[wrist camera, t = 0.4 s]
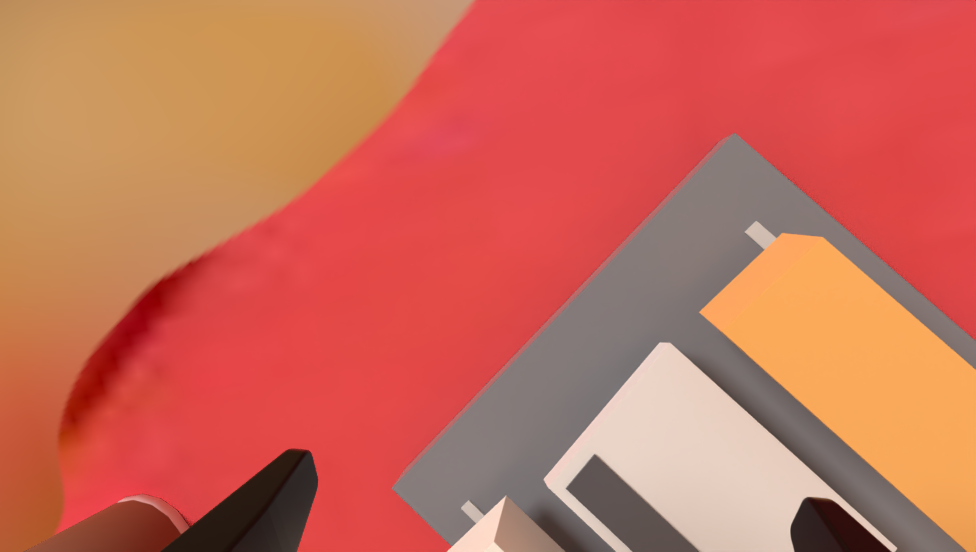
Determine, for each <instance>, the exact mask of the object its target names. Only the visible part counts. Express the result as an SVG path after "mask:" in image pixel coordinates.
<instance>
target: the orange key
mask: <svg viewBox="0 0 976 552" xmlns="http://www.w3.org/2000/svg"><path fill="white" fill-rule="evenodd" d="M699 313H700V314H701V315H702V316H704V317H705V318H706V319H707V320H708V321H709V322H710V323H711V324H712V325H714V326H715V327H716V328H717V329H718V330H719V331H720V332H721V333H722V334H724V335H725V336H726V337H727V338H728V339H729V340H730V341H731V342H733V343H734V344H735V345H736V346H737V347H738V348H739V349H740V350H741V351H743V352H744V353H745V354H746V355H747V356H748V357H749V358H750V359H751V360H753V361H754V362H755V363H756V364H757V365H758V366H759V367H760V368H762V369H763V370H764V371H765V372H766V373H767V374H768V375H769V376H770V377H772V378H773V379H774V380H775V381H776V382H777V383H778V384H779V385H781V386H782V387H783V388H784V389H785V390H786V391H787V392H788V393H789V394H791V395H792V396H793V397H794V398H795V399H796V400H797V401H798V402H799V403H801V404H802V405H803V406H804V407H805V408H806V409H807V410H808V411H810V412H811V413H812V414H813V415H814V416H815V417H816V418H817V419H818V420H820V421H821V422H822V423H823V424H824V425H825V426H826V427H827V428H829V429H830V430H831V431H832V432H833V433H834V434H835V435H836V436H837V437H839V438H840V439H841V440H842V441H843V442H844V443H845V444H846V445H847V446H849V447H850V448H851V449H852V450H853V451H854V452H855V453H856V454H858V455H859V456H860V457H861V458H862V459H863V460H864V461H865V462H866V463H868V464H869V465H870V466H871V467H872V468H873V469H874V470H875V471H877V472H878V473H879V474H880V475H881V476H882V477H883V478H884V479H885V480H887V481H888V482H889V483H890V484H891V485H892V486H893V487H894V488H895V489H897V490H898V491H899V492H900V493H901V494H902V495H903V496H904V497H906V498H907V499H908V500H909V501H910V502H911V503H912V504H913V505H914V506H916V507H917V508H918V509H919V510H920V511H921V512H922V513H923V514H925V515H926V516H927V517H928V518H929V519H930V520H931V521H932V522H934V523H935V524H936V525H937V526H938V527H939V528H940V529H942V530H943V531H944V532H945V533H946V534H947V535H948V536H950V537H951V538H952V539H953V540H954V541H955V542H956V543H958V544H959V545H960V546H961V547H962V548H963V549H964V550H966V551H967V552H976V370H975V369H974V368H973V367H972V366H971V365H970V364H968V363H967V362H966V361H965V360H964V359H963V358H962V357H960V356H959V355H958V354H957V353H956V352H955V351H954V350H952V349H951V348H950V347H949V346H948V345H947V344H945V343H944V342H943V341H942V340H941V339H940V338H939V337H937V336H936V335H935V334H934V333H933V332H932V331H930V330H929V329H928V328H927V327H926V326H925V325H924V324H922V323H921V322H920V321H919V320H918V319H917V318H916V317H914V316H913V315H912V314H911V313H910V312H909V311H907V310H906V309H905V308H904V307H903V306H902V305H901V304H899V303H898V302H897V301H896V300H895V299H894V298H892V297H891V296H890V295H889V294H888V293H887V292H886V291H884V290H883V289H882V288H881V287H880V286H879V285H878V284H876V283H875V282H874V281H873V280H872V279H871V278H869V277H868V276H867V275H866V274H865V273H864V272H863V271H861V270H860V269H859V268H858V267H857V266H856V265H854V264H853V263H852V262H851V261H850V260H849V259H848V258H846V257H845V256H844V255H843V254H842V253H841V252H840V251H838V250H837V249H836V248H835V247H834V246H833V245H831V244H830V243H829V242H828V241H827V240H826V239H825V238H823V237H817V236H807V235H797V234H786V233H782V234H781V235H780V236H779V237H778V238H776V239H775V240H774V241H773V242H772V243H771V244H770V245H769V246H768V247H767V248H766V249H765V250H764V251H763V252H762V253H761V254H760V255H759V256H758V257H756V258H755V259H754V260H753V261H752V262H751V263H750V264H749V265H748V266H747V267H746V268H745V269H744V270H743V271H742V272H741V273H740V274H739V275H738V276H736V277H735V278H734V279H733V280H732V281H731V282H730V283H729V284H728V285H727V286H726V287H725V288H724V289H723V290H722V291H721V292H720V293H719V294H718V295H716V296H715V297H714V298H713V299H712V300H711V301H710V302H709V303H708V304H707V305H706V306H705V307H704V308H703V309H702V310H701V311H700V312H699Z"/></svg>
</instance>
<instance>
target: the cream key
mask: <svg viewBox="0 0 976 552" xmlns="http://www.w3.org/2000/svg"><path fill="white" fill-rule="evenodd" d="M447 552H565V551H564V550H563V549H562V548H561V547H560V546H559V545H558V544H557V543H556V542H555V541H554V540H553V539H552V538H551V537H549V536H548V535H547V534H546V533H545V532H544V531H543V530H542V529H541V528H540V527H539V526H538V525H537V524H536V523H535V522H534V521H533V520H532V519H531V518H529V517H528V516H527V515H526V514H525V513H524V512H523V511H522V510H521V509H520V508H519V507H518V506H517V505H516V504H515V503H514V502H513V501H512V500H511V499H509V498H508V497H507V496H505V497H504V498H503V499H502V500H501V501H500V502H499V503H498V504H497V505H495V506H494V507H493V508H492V509H491V510H490V511H489V512H488V513H487V514H486V515H485V516H484V517H483V518H482V519H481V520H480V521H479V522H478V523H477V524H475V525H474V526H473V527H472V528H471V529H470V530H469V531H468V532H467V533H466V534H465V535H464V536H463V537H462V538H461V539H460V540H459V541H458V542H457V543H456V544H454V545H453V546H452V547H451V548H450V549H449V550H448V551H447Z"/></svg>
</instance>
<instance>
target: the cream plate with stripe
mask: <svg viewBox="0 0 976 552" xmlns="http://www.w3.org/2000/svg"><path fill="white" fill-rule="evenodd" d="M544 481H545V483H546V485H547V487H548V488H549V489H550V490H551V491H552V492H553V493H555V494H556V495H557V496H558V497H559V498H560V499H561V500H562V501H563V502H564V503H565V504H566V505H567V506H568V507H569V508H570V509H571V510H573V511H574V512H575V513H576V514H577V515H578V516H579V517H580V518H581V519H582V520H583V521H584V522H585V523H586V524H587V525H588V526H589V527H591V528H592V529H593V530H594V531H595V532H596V533H597V534H598V535H599V536H600V537H601V538H602V539H603V540H604V541H605V542H606V543H607V544H609V545H610V546H611V547H612V548H613V549H614V550H615V551H616V552H794V548H793V545H792V541H791V536H790V528H791V524H792V521H793V519H794V517H795V515H796V513H797V511H798V509H799V507H800V505H801V503H802V501H803V499H805V498H806V497H819V498H828V499H831V500H833V501H835V502H836V503H838V504H839V505H840V506H841V507H842V508H843V509H844V510H846V511H847V512H848V513H849V514H850V515H851V516H852V517H853V518H855V519H856V520H857V521H858V522H859V523H860V524H861V525H862V526H864V527H865V528H866V529H867V530H868V531H869V532H870V533H871V534H872V535H874V536H875V537H876V538H877V539H878V540H879V541H880V542H881V543H883V544H884V545H885V546H886V547H887V548H888V549H889V550H890V551H892V552H895V551H896V549H897V547H896V546H894V545H893V544H892V543H891V542H890V541H889V540H888V539H887V538H886V537H884V536H883V535H882V534H881V533H880V532H879V531H878V530H877V529H876V528H875V527H873V526H872V525H871V524H870V523H869V522H868V521H867V520H866V519H865V518H863V517H862V516H861V515H860V514H859V513H858V512H857V511H856V510H855V509H854V508H852V507H851V506H850V505H849V504H848V503H847V502H846V501H845V500H844V499H842V498H841V497H840V496H839V495H838V494H837V493H836V492H835V491H834V490H833V489H831V488H830V487H829V486H828V485H827V484H826V483H825V482H824V481H823V480H821V479H820V478H819V477H818V476H817V475H816V474H815V473H814V472H813V471H811V470H810V469H809V468H808V467H807V466H806V465H805V464H804V463H803V462H802V461H800V460H799V459H798V458H797V457H796V456H795V455H794V454H793V453H792V452H790V451H789V450H788V449H787V448H786V447H785V446H784V445H783V444H782V443H781V442H779V441H778V440H777V439H776V438H775V437H774V436H773V435H772V434H771V433H769V432H768V431H767V430H766V429H765V428H764V427H763V426H762V425H761V424H760V423H758V422H757V421H756V420H755V419H754V418H753V417H752V416H751V415H750V414H748V413H747V412H746V411H745V410H744V409H743V408H742V407H741V406H740V405H739V404H737V403H736V402H735V401H734V400H733V399H732V398H731V397H730V396H729V395H727V394H726V393H725V392H724V391H723V390H722V389H721V388H720V387H719V386H717V385H716V384H715V383H714V382H713V381H712V380H711V379H710V378H709V377H708V376H706V375H705V374H704V373H703V372H702V371H701V370H700V369H699V368H698V367H696V366H695V365H694V364H693V363H692V362H691V361H690V360H689V359H688V358H687V357H685V356H684V355H683V354H682V353H681V352H680V351H679V350H678V349H677V348H675V347H674V346H673V345H672V344H671V343H661V342H660V343H659V344H658V345H657V346H656V347H655V348H654V350H653V351H652V352H651V353H650V354H649V356H648V357H647V358H646V359H645V360H644V361H643V363H642V364H641V365H640V366H639V367H638V368H637V370H636V371H635V372H634V373H633V374H632V376H631V377H630V378H629V379H628V380H627V381H626V383H625V384H624V385H623V386H622V387H621V388H620V390H619V391H618V392H617V393H616V394H615V396H614V397H613V398H612V399H611V400H610V401H609V403H608V404H607V405H606V406H605V407H604V408H603V410H602V411H601V412H600V413H599V414H598V416H597V417H596V418H595V419H594V420H593V421H592V423H591V424H590V425H589V426H588V427H587V428H586V430H585V431H584V432H583V433H582V434H581V436H580V437H579V438H578V439H577V440H576V441H575V443H574V444H573V445H572V446H571V447H570V448H569V450H568V451H567V452H566V453H565V454H564V456H563V457H562V458H561V459H560V460H559V461H558V463H557V464H556V465H555V466H554V467H553V468H552V470H551V471H550V472H549V473H548V474H547V476H546V477H545V478H544Z"/></svg>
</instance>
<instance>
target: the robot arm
mask: <svg viewBox="0 0 976 552" xmlns="http://www.w3.org/2000/svg"><path fill="white" fill-rule="evenodd" d="M317 487H318V476H317V472H316V468H315V465H314V461H313V457H312V454H311V452H310V451H309V450H303V449H288V450H286V451H285V452H283V453H282V454H281V455H280V456H278V457H277V458H276V459H275V460H273V461H272V462H271V463H270V464H268V465H267V466H266V467H265V468H263V469H262V470H261V471H260V472H258V473H257V474H256V475H255V476H253V477H252V478H251V479H250V480H248V481H247V482H246V483H245V484H243V485H242V486H241V487H240V488H238V489H237V490H236V491H235V492H233V493H232V494H231V495H230V496H228V497H227V498H226V499H225V500H223V501H222V502H221V503H219V504H218V505H217V506H216V507H214V508H213V509H212V510H211V511H209V512H208V513H207V514H206V515H204V516H203V517H202V518H201V519H199V520H198V521H197V522H196V523H194V524H193V525H192V526H191V527H189V528H188V529H187V530H186V531H184V532H183V533H182V534H181V535H179V536H178V537H177V538H176V539H174V540H173V541H172V542H171V543H169V544H168V545H167V546H166V547H164V548H163V549H162V550H161V551H159V552H297V550H298V547H299V544H300V541H301V538H302V534H303V531H304V528H305V525H306V522H307V519H308V516H309V513H310V510H311V507H312V504H313V501H314V498H315V495H316V491H317ZM790 536H791V541H792V545H793V548H794V552H892V551H890V550H889V549H888V548H887V547H886V546H885V545H884V544H883V543H881V542H880V541H879V540H878V539H877V538H876V537H875V536H874V535H872V534H871V533H870V532H869V531H868V530H867V529H866V528H865V527H864V526H862V525H861V524H860V523H859V522H858V521H857V520H856V519H855V518H853V517H852V516H851V515H850V514H849V513H848V512H847V511H846V510H844V509H843V508H842V507H841V506H840V505H839V504H838V503H836V502H835V501H833V500H831V499H828V498H819V497H806V498H805V499H803V501H802V503H801V505H800V507H799V509H798V511H797V513H796V515H795V517H794V519H793V521H792V524H791V528H790Z"/></svg>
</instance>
